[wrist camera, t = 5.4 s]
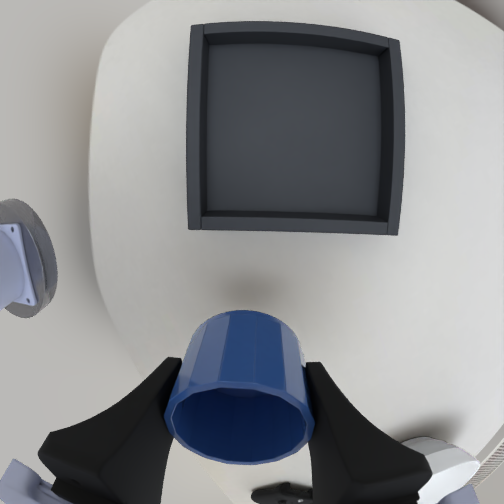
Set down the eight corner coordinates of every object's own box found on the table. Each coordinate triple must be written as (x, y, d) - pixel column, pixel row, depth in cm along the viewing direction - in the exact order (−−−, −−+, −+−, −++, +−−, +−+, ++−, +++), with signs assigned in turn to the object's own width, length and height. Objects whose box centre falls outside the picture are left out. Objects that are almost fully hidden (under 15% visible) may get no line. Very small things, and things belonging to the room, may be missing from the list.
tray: (196, 221, 19) (187, 230, 16) (198, 38, 15) (190, 24, 12) (383, 226, 18) (398, 235, 16) (385, 51, 14) (399, 40, 12)
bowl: (481, 407, 25) (505, 446, 17) (412, 479, 31) (423, 514, 23) (373, 419, 24) (392, 480, 17) (311, 491, 31) (315, 535, 23)
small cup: (195, 392, 14) (178, 458, 10) (183, 307, 12) (150, 374, 8) (296, 395, 14) (303, 464, 10) (307, 310, 12) (325, 381, 8)
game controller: (246, 497, 30) (263, 514, 25) (262, 469, 32) (281, 483, 27) (296, 507, 31) (316, 521, 26) (310, 482, 34) (332, 493, 29)
